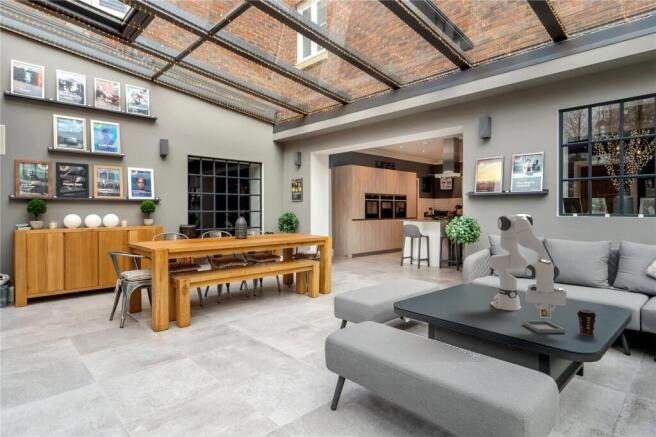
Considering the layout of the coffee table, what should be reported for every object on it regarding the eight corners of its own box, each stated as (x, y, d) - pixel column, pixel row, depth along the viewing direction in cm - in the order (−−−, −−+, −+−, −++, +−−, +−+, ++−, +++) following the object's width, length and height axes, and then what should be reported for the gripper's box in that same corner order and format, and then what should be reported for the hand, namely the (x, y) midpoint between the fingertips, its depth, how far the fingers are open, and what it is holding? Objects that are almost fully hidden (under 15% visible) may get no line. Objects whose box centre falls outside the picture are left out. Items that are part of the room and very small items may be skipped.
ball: (541, 315, 205) (539, 311, 206) (546, 313, 205) (544, 309, 205) (544, 317, 202) (542, 312, 203) (549, 315, 202) (547, 310, 202)
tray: (522, 325, 213) (522, 320, 213) (546, 324, 214) (546, 320, 214) (538, 333, 197) (538, 329, 197) (564, 333, 198) (564, 329, 198)
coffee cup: (588, 331, 201) (588, 308, 201) (600, 336, 193) (600, 312, 193) (574, 331, 201) (573, 309, 201) (585, 336, 192) (585, 313, 192)
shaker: (539, 315, 207) (539, 302, 207) (550, 316, 204) (550, 303, 205) (540, 318, 202) (540, 304, 202) (551, 319, 199) (551, 305, 199)
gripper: (565, 288, 201) (566, 312, 201) (525, 285, 211) (525, 308, 211) (567, 290, 196) (567, 314, 195) (525, 287, 206) (525, 310, 206)
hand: (545, 311), depth 203 cm, fingers closed on shaker, 5 cm apart
